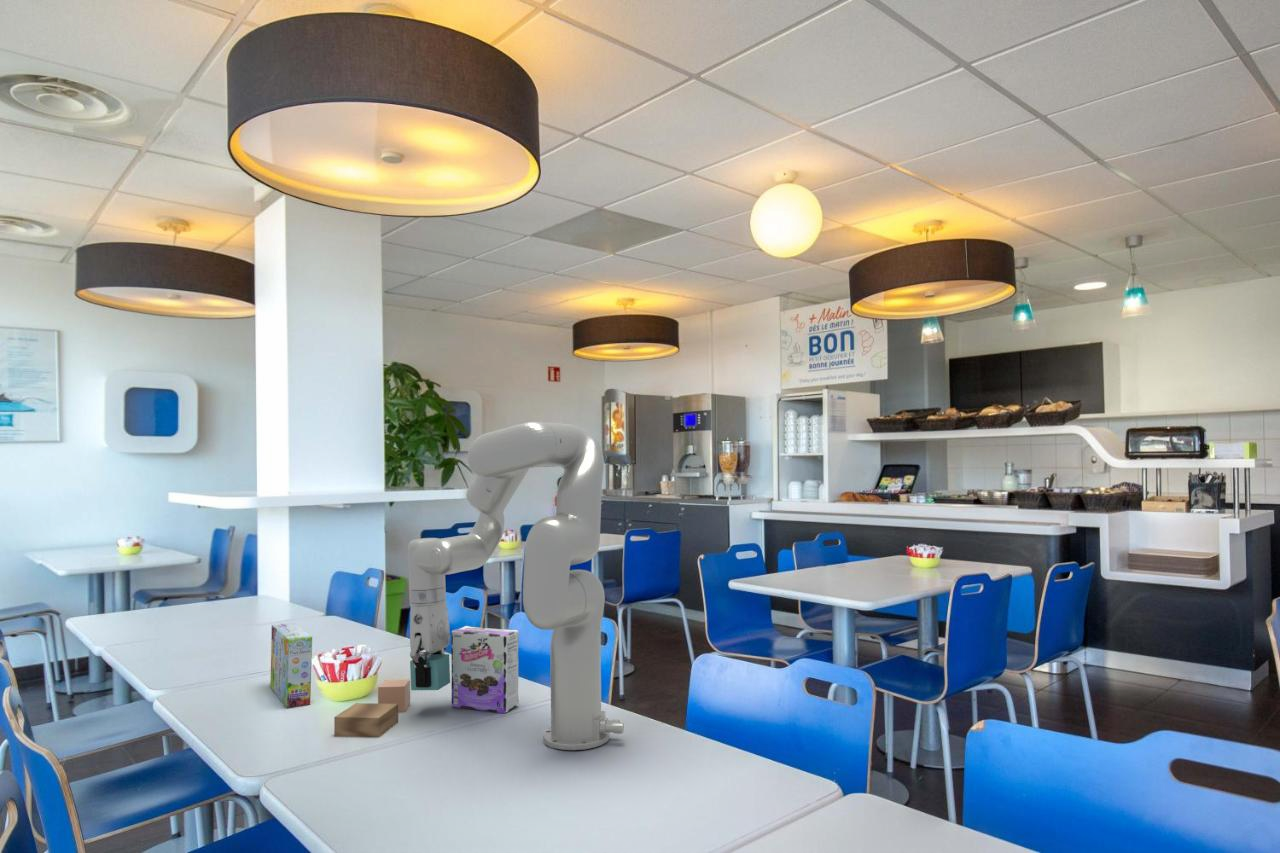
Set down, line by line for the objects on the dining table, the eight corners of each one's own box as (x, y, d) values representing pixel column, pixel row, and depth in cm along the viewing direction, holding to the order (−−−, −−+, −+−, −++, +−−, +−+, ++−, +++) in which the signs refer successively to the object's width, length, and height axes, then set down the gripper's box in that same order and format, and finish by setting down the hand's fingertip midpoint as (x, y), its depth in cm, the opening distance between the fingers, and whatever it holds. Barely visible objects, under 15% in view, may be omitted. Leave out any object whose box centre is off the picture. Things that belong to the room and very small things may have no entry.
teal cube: (450, 682, 170) (449, 654, 170) (437, 690, 164) (436, 660, 164) (424, 682, 171) (423, 654, 171) (411, 690, 165) (410, 661, 166)
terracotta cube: (410, 704, 173) (410, 679, 173) (404, 712, 168) (404, 686, 168) (384, 705, 173) (384, 680, 173) (378, 713, 167) (378, 687, 168)
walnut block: (398, 723, 161) (398, 703, 162) (378, 739, 152) (378, 717, 153) (355, 722, 162) (355, 703, 162) (334, 738, 153) (334, 717, 154)
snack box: (313, 704, 174) (313, 635, 175) (285, 709, 171) (286, 638, 172) (293, 683, 192) (294, 620, 193) (268, 687, 189) (269, 623, 189)
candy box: (450, 707, 171) (449, 630, 171) (465, 699, 176) (465, 625, 177) (505, 714, 165) (504, 634, 166) (519, 706, 171) (519, 629, 172)
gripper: (425, 602, 160) (429, 693, 158) (460, 590, 177) (463, 672, 175) (391, 603, 161) (394, 694, 160) (429, 591, 178) (432, 672, 177)
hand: (430, 681), depth 168 cm, fingers closed on teal cube, 6 cm apart
